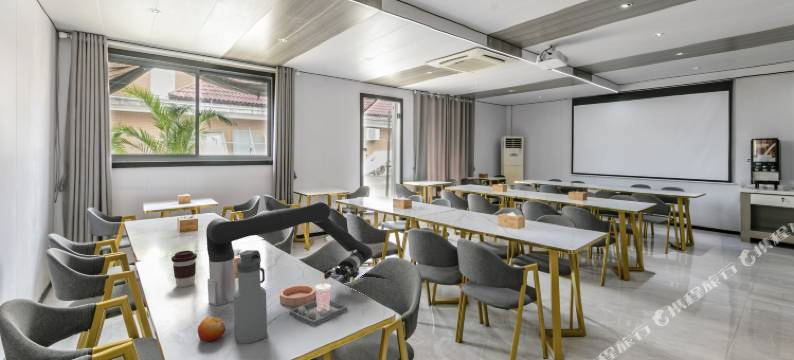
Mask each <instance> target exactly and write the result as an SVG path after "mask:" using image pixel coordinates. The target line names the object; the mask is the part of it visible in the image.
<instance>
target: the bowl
mask: <svg viewBox="0 0 794 360" xmlns="http://www.w3.org/2000/svg"><path fill="white" fill-rule="evenodd" d="M313 301H316V290H315V286H312V285H308V284H307V285H305V284H299V285H298V284H297V285H291V286H287V287H284V288H283V289H282V290H279V303H280V304H282V305H284V306H287V307H289V306H290V307H300V306H303V305H305V304H308V303H310V302H313Z"/></svg>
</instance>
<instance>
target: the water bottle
mask: <svg viewBox="0 0 794 360" xmlns="http://www.w3.org/2000/svg"><path fill="white" fill-rule="evenodd" d="M239 258H240V260H238V261H237V262H236V269H237V270H236V272H237V280H238V283H237V284H238V289H237V290H236V292H235V294H234V296H233V321H234V323H233V325H234V338H235V340H236V342H238V343H240V344H251V343H256V342H258V341H261V340H263V339H264V338H265V337H266V336H267V334H268V320H267V319H268V316H267V312H268V311H267V292H266V289H265V288H264V287H263V286H261V284H263V283H264V282H265V280H266V278H265V277H266V275H265V273H266V271H265V269H264V268H263V267H261V261H262V260H261V253H260V251H259V250H257V249H256V250H254V249H253V250H252V249H251V250H244V251H242V252H240V253H239ZM261 276H262V277H261ZM261 278H262V279H261Z"/></svg>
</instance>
